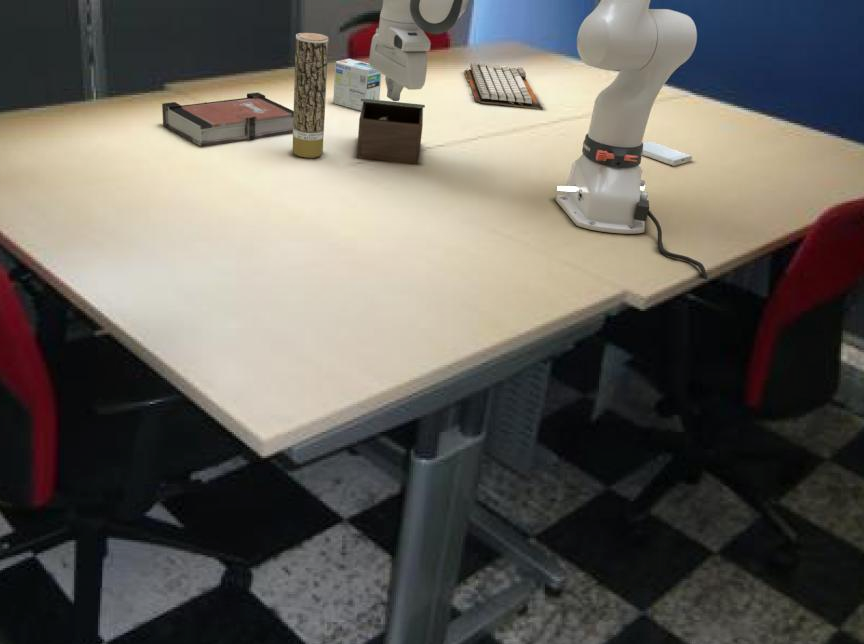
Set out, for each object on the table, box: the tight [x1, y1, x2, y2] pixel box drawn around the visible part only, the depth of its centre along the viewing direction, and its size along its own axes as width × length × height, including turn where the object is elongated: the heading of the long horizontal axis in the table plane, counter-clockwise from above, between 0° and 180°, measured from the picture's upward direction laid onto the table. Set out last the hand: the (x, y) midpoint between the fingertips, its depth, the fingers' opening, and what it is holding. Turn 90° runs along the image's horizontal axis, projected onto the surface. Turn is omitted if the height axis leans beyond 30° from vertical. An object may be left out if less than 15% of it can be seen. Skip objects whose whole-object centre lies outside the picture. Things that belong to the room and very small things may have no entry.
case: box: [356, 102, 424, 165], centre depth 207 cm, size 14×14×9 cm
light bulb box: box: [332, 58, 382, 112], centre depth 235 cm, size 11×7×11 cm, turn 58°
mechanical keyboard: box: [463, 61, 543, 110], centre depth 267 cm, size 38×19×3 cm, turn 2°
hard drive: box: [642, 140, 693, 167], centre depth 226 cm, size 2×8×12 cm
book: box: [161, 92, 294, 148], centre depth 210 cm, size 26×18×5 cm
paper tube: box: [292, 32, 329, 159], centre depth 195 cm, size 7×7×25 cm
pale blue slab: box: [361, 98, 426, 109], centre depth 203 cm, size 15×14×1 cm
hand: (393, 99), depth 200 cm, fingers closed
